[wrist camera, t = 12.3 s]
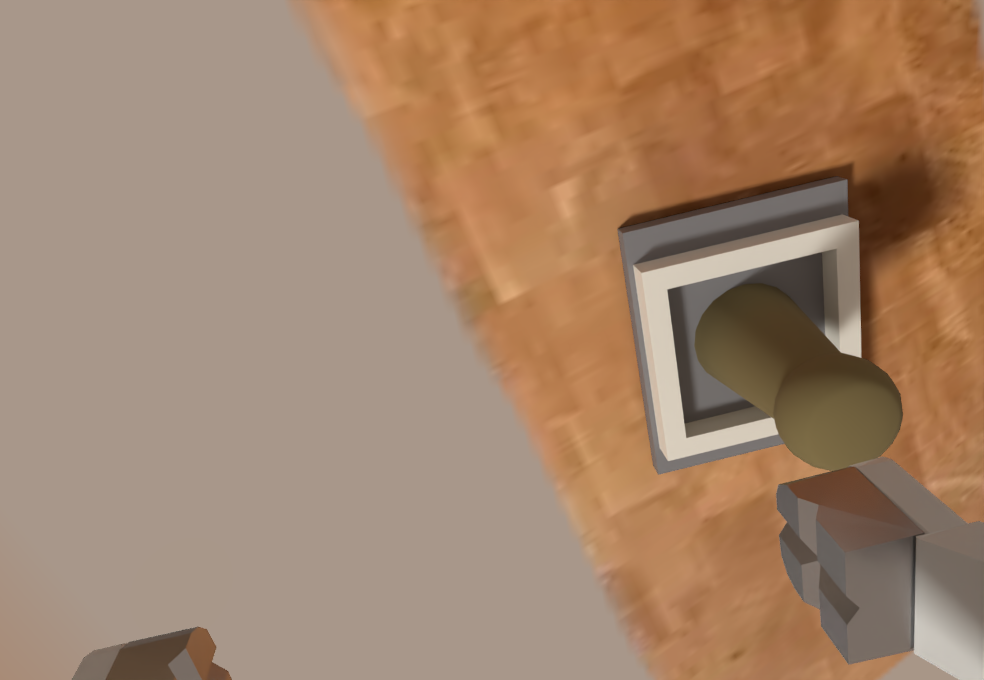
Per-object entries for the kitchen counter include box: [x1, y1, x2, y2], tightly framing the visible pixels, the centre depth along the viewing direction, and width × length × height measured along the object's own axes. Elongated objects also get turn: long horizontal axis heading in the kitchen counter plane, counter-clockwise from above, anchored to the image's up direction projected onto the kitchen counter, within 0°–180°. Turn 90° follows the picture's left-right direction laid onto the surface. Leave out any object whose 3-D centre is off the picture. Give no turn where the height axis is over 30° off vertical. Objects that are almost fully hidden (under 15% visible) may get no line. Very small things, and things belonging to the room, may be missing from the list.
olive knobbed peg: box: [694, 283, 903, 471], centre depth 36 cm, size 6×6×11 cm
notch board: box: [618, 176, 861, 475], centre depth 41 cm, size 15×12×2 cm
